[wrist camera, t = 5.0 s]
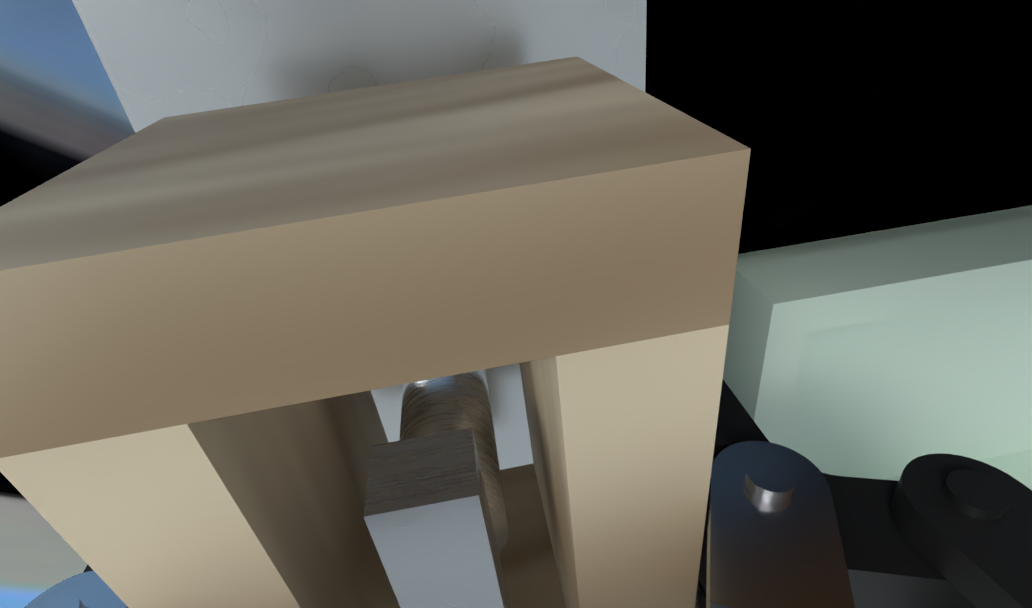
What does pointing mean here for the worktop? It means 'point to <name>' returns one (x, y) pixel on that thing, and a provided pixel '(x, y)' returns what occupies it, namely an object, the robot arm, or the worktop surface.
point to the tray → (891, 345)
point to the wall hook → (353, 65)
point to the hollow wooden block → (374, 333)
